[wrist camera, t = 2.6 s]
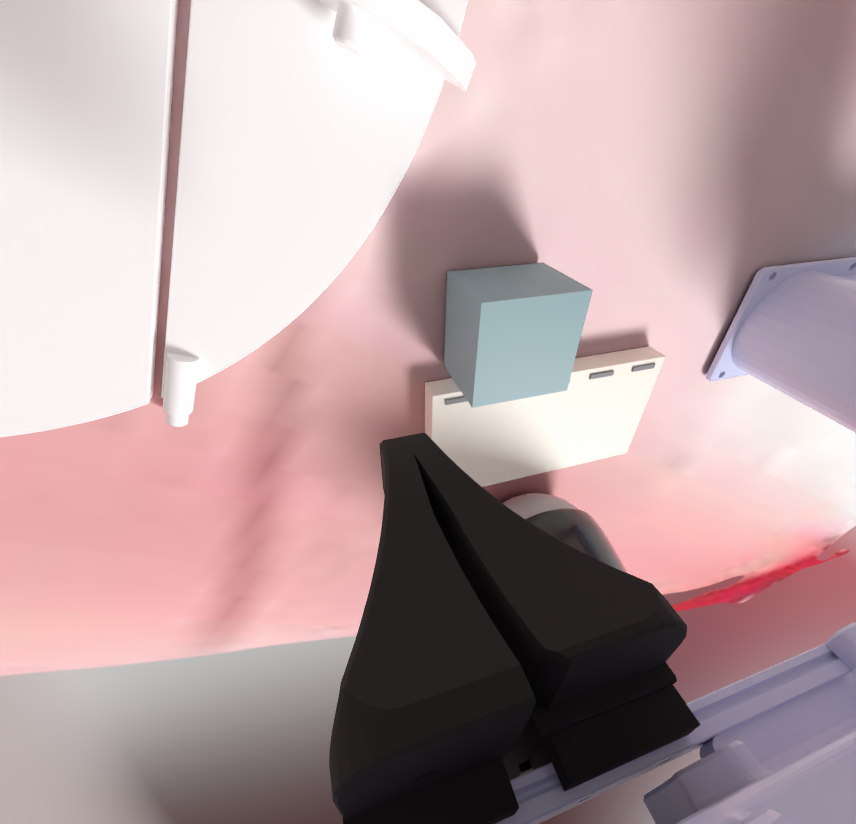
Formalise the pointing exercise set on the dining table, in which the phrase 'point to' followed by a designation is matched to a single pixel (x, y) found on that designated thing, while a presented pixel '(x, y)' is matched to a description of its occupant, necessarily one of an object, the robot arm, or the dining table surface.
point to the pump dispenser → (566, 525)
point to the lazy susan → (192, 181)
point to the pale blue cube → (512, 331)
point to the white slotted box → (545, 419)
